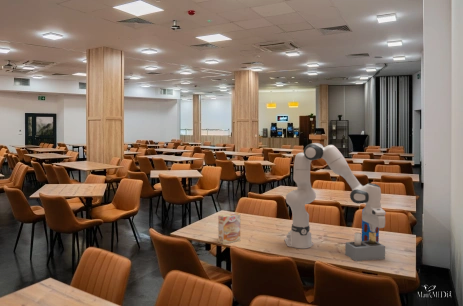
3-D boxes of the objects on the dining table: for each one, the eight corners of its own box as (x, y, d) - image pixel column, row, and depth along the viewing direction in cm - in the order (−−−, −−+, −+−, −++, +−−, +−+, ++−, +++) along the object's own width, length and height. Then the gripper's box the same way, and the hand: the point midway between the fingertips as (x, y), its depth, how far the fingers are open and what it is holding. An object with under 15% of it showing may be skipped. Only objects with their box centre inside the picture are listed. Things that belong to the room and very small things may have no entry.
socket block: (355, 261, 224) (355, 247, 223) (345, 254, 236) (345, 241, 235) (384, 258, 228) (385, 245, 227) (373, 252, 240) (374, 239, 239)
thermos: (372, 250, 244) (373, 212, 242) (358, 246, 252) (358, 210, 251) (381, 247, 250) (382, 210, 248) (367, 243, 259) (368, 207, 257)
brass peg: (367, 244, 234) (367, 232, 233) (373, 244, 235) (373, 231, 234) (371, 246, 230) (371, 233, 229) (377, 246, 231) (377, 233, 230)
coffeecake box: (223, 244, 256) (223, 216, 255) (217, 242, 262) (217, 214, 261) (240, 240, 265) (240, 213, 264) (235, 238, 271) (234, 212, 269)
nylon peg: (353, 245, 232) (353, 232, 231) (358, 245, 233) (359, 232, 232) (356, 247, 228) (356, 234, 227) (362, 247, 229) (362, 234, 228)
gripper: (359, 206, 240) (359, 227, 241) (377, 213, 220) (377, 236, 221) (368, 205, 242) (368, 226, 242) (387, 212, 222) (386, 235, 222)
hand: (372, 231), depth 232 cm, fingers closed
